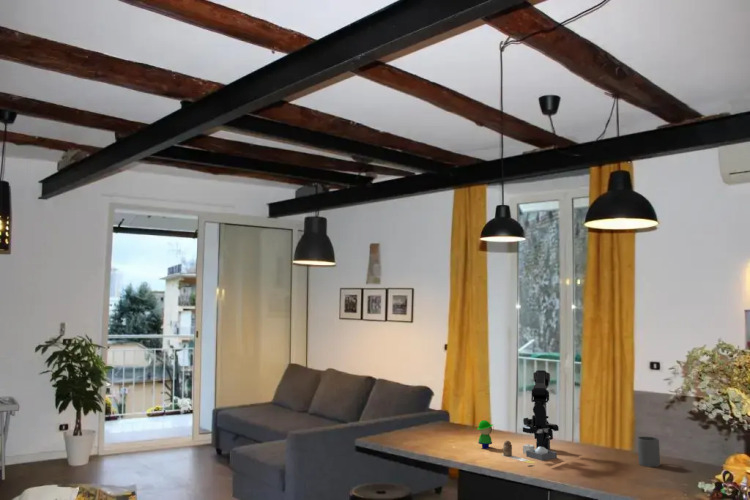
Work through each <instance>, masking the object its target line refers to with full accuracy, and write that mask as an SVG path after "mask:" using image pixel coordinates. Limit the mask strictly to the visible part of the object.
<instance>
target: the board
mask: <svg viewBox="0 0 750 500" xmlns="http://www.w3.org/2000/svg"><path fill="white" fill-rule="evenodd" d="M501 456H502V457H505V458H510V459H513V460H517V461H521V462H524V463H527V464H535V463H537V462H536V461H533V460H529V459H528V458H527V459H526V458H522V457H519V456H515V455H513V454H512V456H504V455H503V454H502V455H501ZM529 467H535V465H528V468H529Z"/></svg>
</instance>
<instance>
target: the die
mask: <svg viewBox="0 0 750 500" xmlns="http://www.w3.org/2000/svg"><path fill="white" fill-rule="evenodd" d="M528 450H535V445H533V444H527V443H526V444H523V445H522V453H523V454H525V455H526V451H528Z"/></svg>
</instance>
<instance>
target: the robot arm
mask: <svg viewBox="0 0 750 500" xmlns="http://www.w3.org/2000/svg"><path fill="white" fill-rule="evenodd" d="M532 375H533V382H534V384H533V386H532V389H531V400H530V401H531V403H534V404H533V407H532V411H533V414H534V415H531V418H529V417H523V427H522V433H526V434H530V435H532V434H533V435H534V439H535V440H536V441H535V443H536V444H535V445H536V447H535V449H537V448H538V447H544V448H546V449H547V450H549V451H550V449H551V445H550V444H551V440H554V435H553V434H554V433H553V432H559V431H560V430H559V429H560V428H559V426H558V424H555V423H549V421H548V419H549V416H548V414H547V403H549V402H550V392H549V390H548V388H549V386H550V383H551V374H550V373H549V372H547V370H544V369H537V370H535V372H533V374H532Z"/></svg>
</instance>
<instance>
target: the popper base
mask: <svg viewBox="0 0 750 500" xmlns="http://www.w3.org/2000/svg"><path fill="white" fill-rule="evenodd" d="M557 455H558V452H557V451H553V450H550V449H549V450H548V453H543V454H541V453H537V452H535V449H534V450H528V451H526V454H525V456H526V457H527V458H530V459H534V460H537V461H541V462H542V461H548V460H554V459H555V460H556V459H558V456H557Z"/></svg>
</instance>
